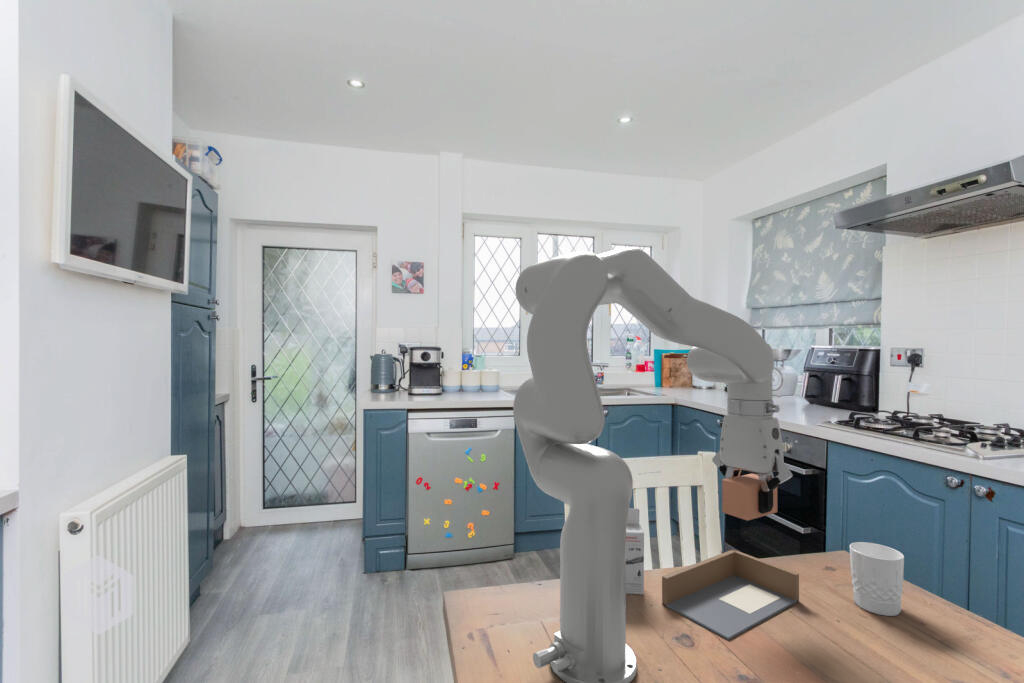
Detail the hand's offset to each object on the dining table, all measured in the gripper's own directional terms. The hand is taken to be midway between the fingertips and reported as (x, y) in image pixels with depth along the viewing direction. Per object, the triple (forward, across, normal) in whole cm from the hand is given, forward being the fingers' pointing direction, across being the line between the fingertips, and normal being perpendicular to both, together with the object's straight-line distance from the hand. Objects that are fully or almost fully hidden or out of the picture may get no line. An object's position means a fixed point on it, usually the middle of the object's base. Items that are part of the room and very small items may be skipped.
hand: (749, 506), depth 89 cm
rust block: (+1, 0, 0) cm, 1 cm away
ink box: (+18, +17, +16) cm, 29 cm away
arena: (+17, +3, +3) cm, 18 cm away
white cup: (+18, -13, -18) cm, 28 cm away
